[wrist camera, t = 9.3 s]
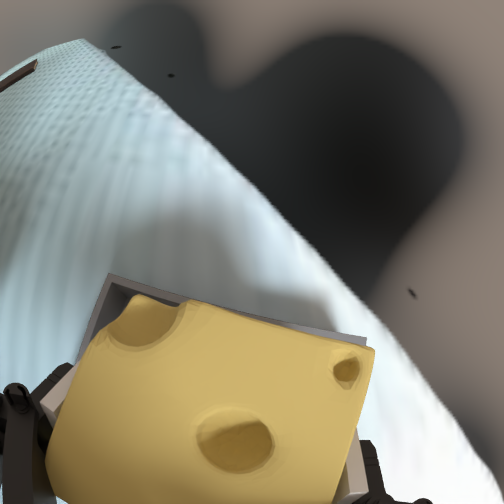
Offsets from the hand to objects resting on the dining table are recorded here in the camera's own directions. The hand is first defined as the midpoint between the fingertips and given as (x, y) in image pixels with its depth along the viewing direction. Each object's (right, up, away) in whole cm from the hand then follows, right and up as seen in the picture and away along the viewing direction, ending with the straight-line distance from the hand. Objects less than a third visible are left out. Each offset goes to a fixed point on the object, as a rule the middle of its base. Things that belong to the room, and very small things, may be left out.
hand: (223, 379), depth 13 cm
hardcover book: (-90, +72, +41) cm, 122 cm away
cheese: (-1, -4, +2) cm, 5 cm away
